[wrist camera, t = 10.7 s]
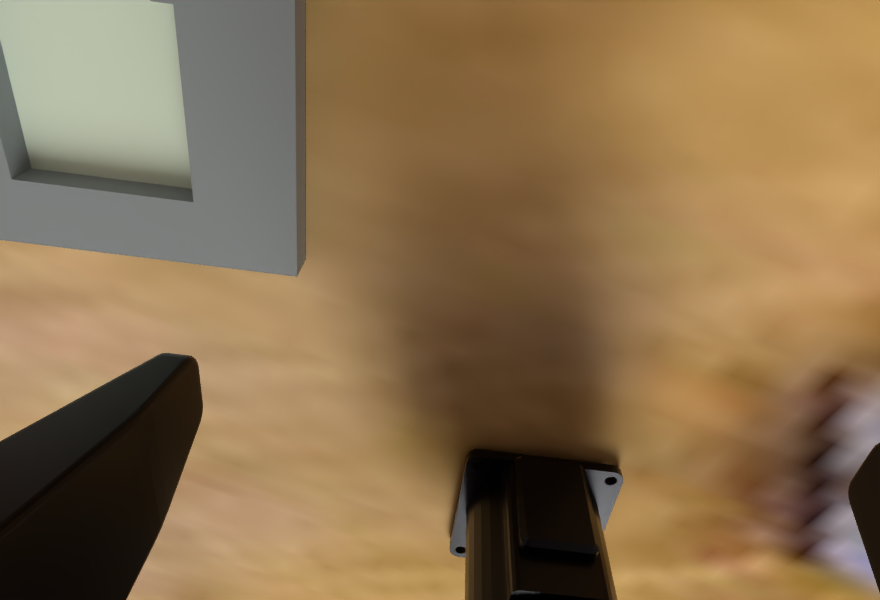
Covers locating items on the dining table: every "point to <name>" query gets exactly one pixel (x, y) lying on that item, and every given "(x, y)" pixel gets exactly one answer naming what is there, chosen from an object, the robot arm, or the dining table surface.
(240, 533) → the dining table surface
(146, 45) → the keyhole plate
